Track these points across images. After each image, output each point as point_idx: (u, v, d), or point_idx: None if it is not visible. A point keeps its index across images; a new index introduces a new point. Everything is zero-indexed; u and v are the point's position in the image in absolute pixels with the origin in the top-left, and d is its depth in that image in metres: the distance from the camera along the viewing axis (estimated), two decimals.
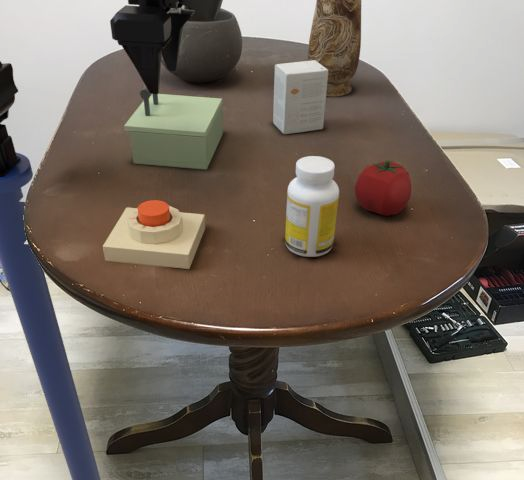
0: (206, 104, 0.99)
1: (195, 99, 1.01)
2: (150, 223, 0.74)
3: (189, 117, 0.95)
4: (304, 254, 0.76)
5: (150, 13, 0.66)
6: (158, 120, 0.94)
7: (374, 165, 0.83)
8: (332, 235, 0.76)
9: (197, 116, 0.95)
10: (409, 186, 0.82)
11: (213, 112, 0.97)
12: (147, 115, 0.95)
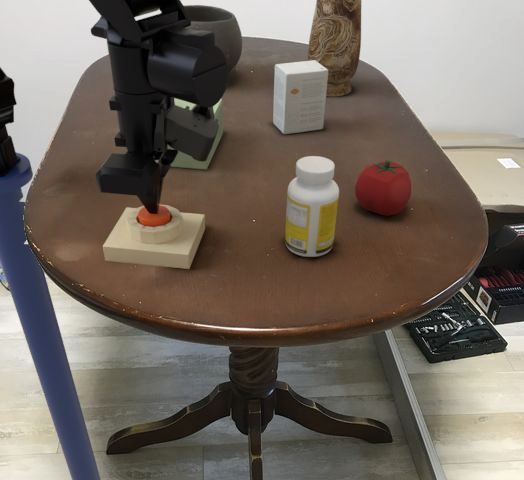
0: None
1: None
2: None
3: None
4: (304, 254, 0.76)
5: (137, 167, 0.63)
6: None
7: (374, 165, 0.83)
8: (332, 235, 0.76)
9: None
10: (409, 186, 0.82)
11: None
12: None
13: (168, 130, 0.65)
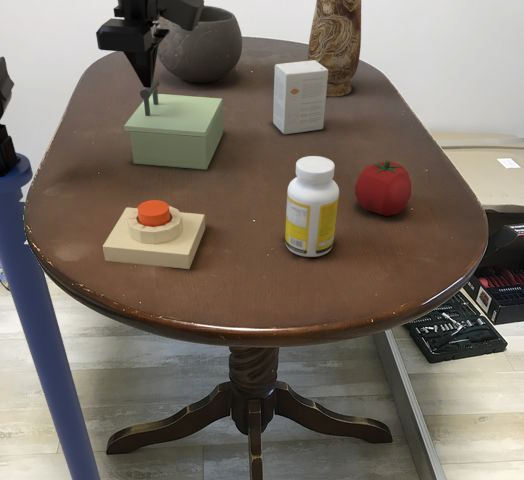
0: (206, 104, 0.99)
1: (195, 99, 1.01)
2: (150, 223, 0.74)
3: (189, 117, 0.95)
4: (304, 254, 0.76)
5: (132, 26, 0.73)
6: (158, 120, 0.94)
7: (374, 165, 0.83)
8: (332, 235, 0.76)
9: (197, 116, 0.95)
10: (409, 186, 0.82)
11: (213, 112, 0.97)
12: (147, 115, 0.95)
13: (159, 0, 0.76)
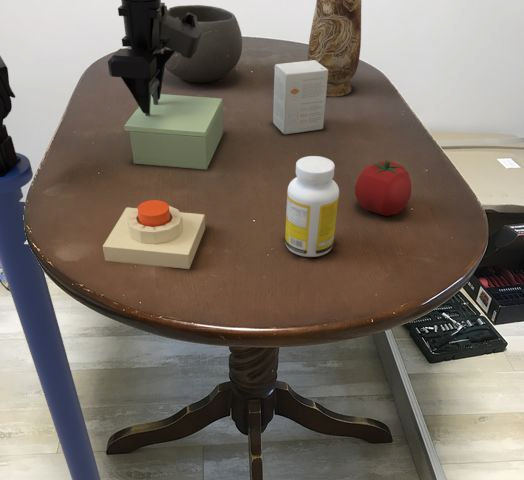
0: (206, 104, 0.99)
1: (195, 99, 1.01)
2: (150, 223, 0.74)
3: (189, 117, 0.95)
4: (304, 254, 0.76)
5: (139, 56, 0.84)
6: (158, 120, 0.94)
7: (374, 165, 0.83)
8: (332, 235, 0.76)
9: (197, 116, 0.95)
10: (409, 186, 0.82)
11: (213, 112, 0.97)
12: (147, 115, 0.95)
13: (162, 31, 0.87)
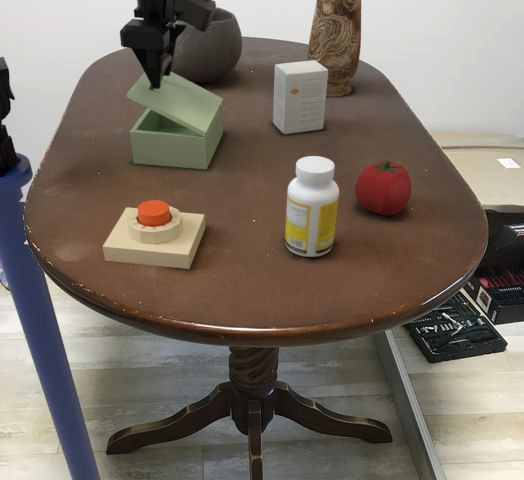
0: (208, 99, 0.99)
1: (197, 88, 1.00)
2: (150, 223, 0.74)
3: (192, 108, 0.94)
4: (304, 254, 0.76)
5: (153, 26, 0.81)
6: (161, 99, 0.92)
7: (374, 165, 0.83)
8: (332, 235, 0.76)
9: (199, 110, 0.95)
10: (409, 186, 0.82)
11: (214, 112, 0.97)
12: (151, 89, 0.92)
13: (176, 3, 0.84)
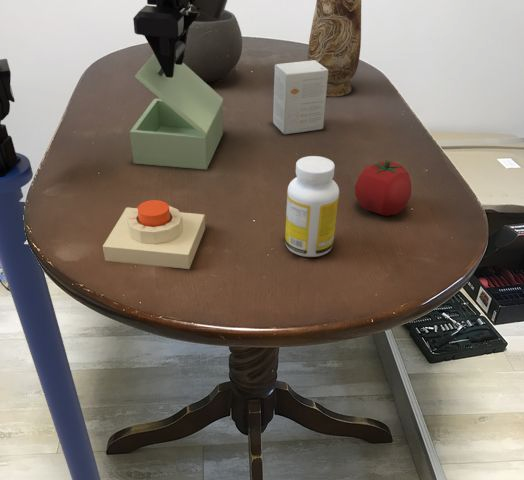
0: (210, 97, 0.98)
1: (201, 82, 0.99)
2: (150, 223, 0.74)
3: (195, 104, 0.94)
4: (304, 254, 0.76)
5: (167, 12, 0.80)
6: (168, 88, 0.90)
7: (374, 165, 0.83)
8: (332, 235, 0.76)
9: (201, 107, 0.94)
10: (409, 186, 0.82)
11: (215, 112, 0.97)
12: (159, 74, 0.90)
13: None
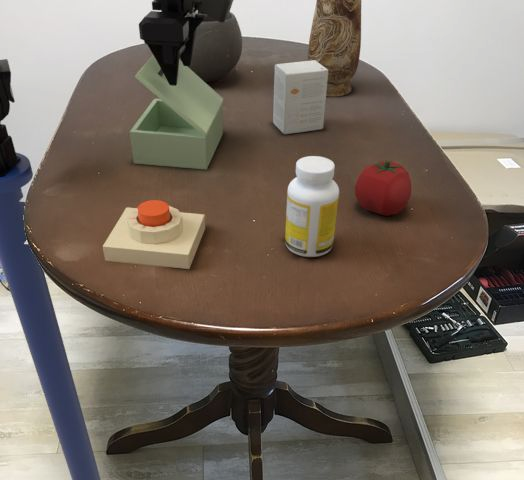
0: (210, 97, 0.98)
1: (201, 82, 0.99)
2: (150, 223, 0.74)
3: (195, 104, 0.94)
4: (304, 254, 0.76)
5: (172, 17, 0.80)
6: (168, 88, 0.90)
7: (374, 165, 0.83)
8: (332, 235, 0.76)
9: (201, 107, 0.94)
10: (409, 186, 0.82)
11: (215, 112, 0.97)
12: (159, 74, 0.90)
13: None
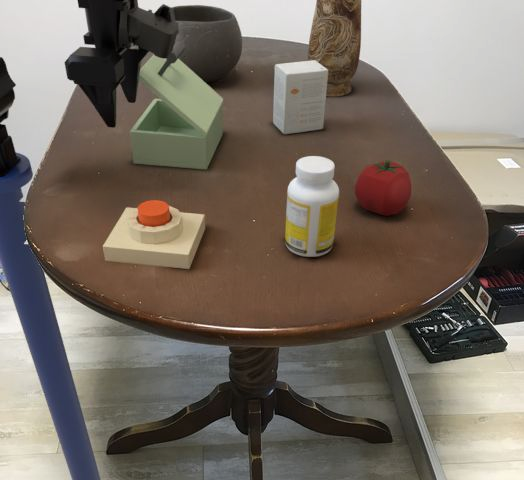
0: (210, 97, 0.98)
1: (201, 82, 0.99)
2: (150, 223, 0.74)
3: (195, 104, 0.94)
4: (304, 254, 0.76)
5: (102, 55, 0.70)
6: (168, 88, 0.90)
7: (374, 165, 0.83)
8: (332, 235, 0.76)
9: (201, 107, 0.94)
10: (409, 186, 0.82)
11: (215, 112, 0.97)
12: (159, 74, 0.90)
13: (131, 27, 0.73)
